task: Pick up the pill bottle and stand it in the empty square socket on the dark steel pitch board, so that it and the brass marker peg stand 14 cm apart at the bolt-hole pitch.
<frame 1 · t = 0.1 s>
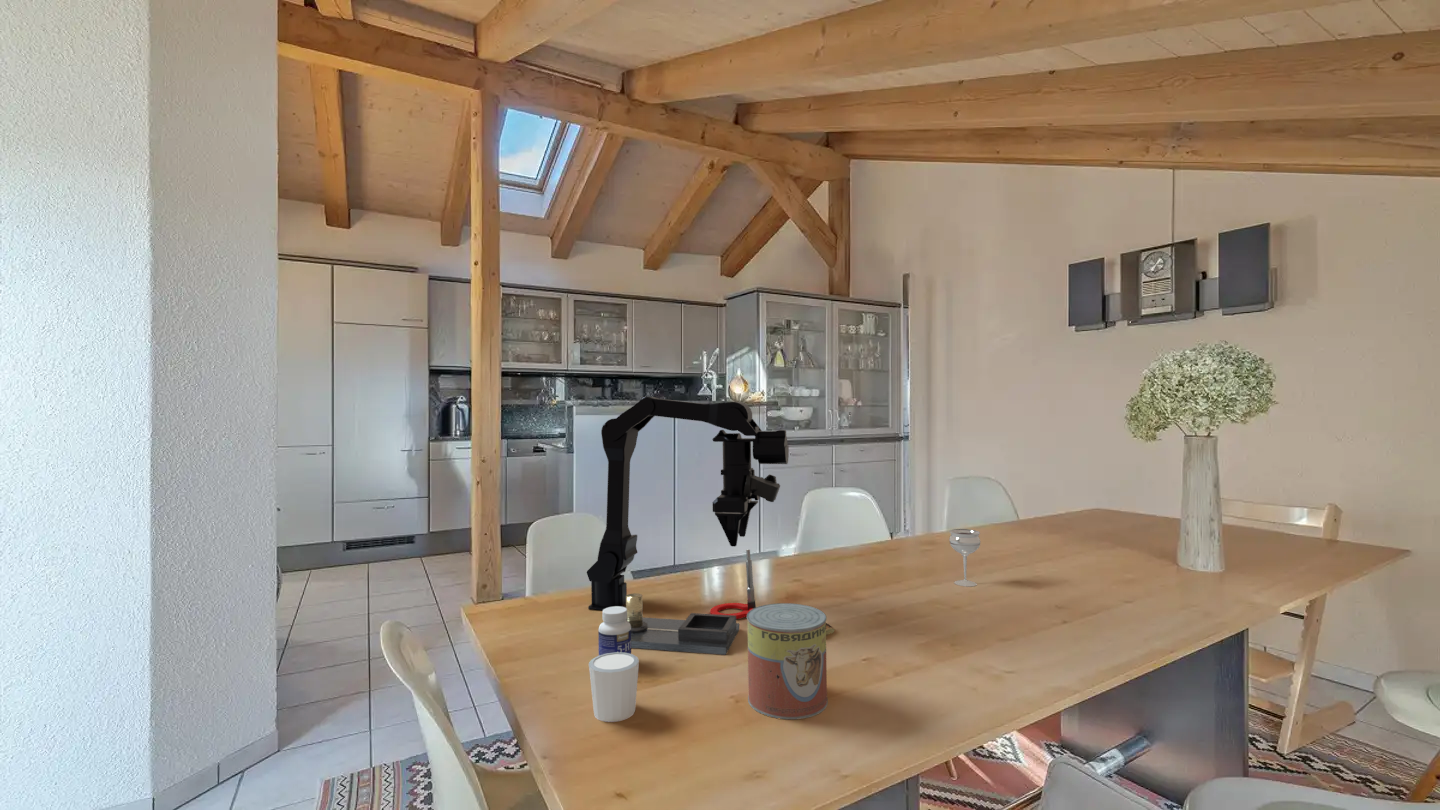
hand: (738, 541, 126), 15 cm above the table, tool pointing down, fingers open, 9 cm apart
tow hook: (733, 614, 126), on the table
pitch board: (670, 637, 114), on the table
shard: (804, 632, 117), on the table
canned food: (787, 701, 89), on the table
shot glass: (614, 713, 86), on the table
wineglass: (965, 584, 145), on the table
pill bottle: (615, 665, 102), on the table
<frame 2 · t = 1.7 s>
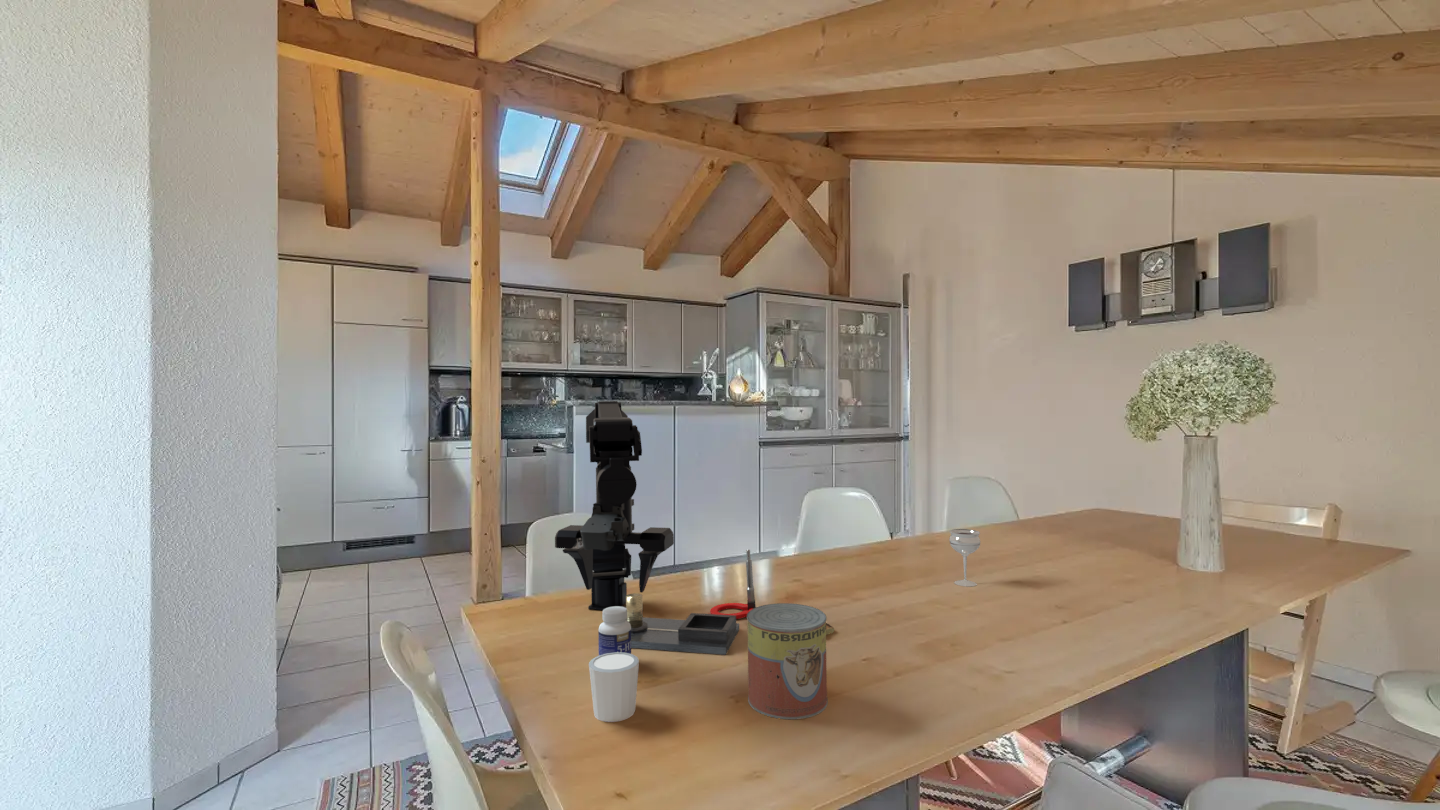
hand: (615, 590, 102), 12 cm above the table, tool pointing down, fingers open, 9 cm apart
nothing on the table moved.
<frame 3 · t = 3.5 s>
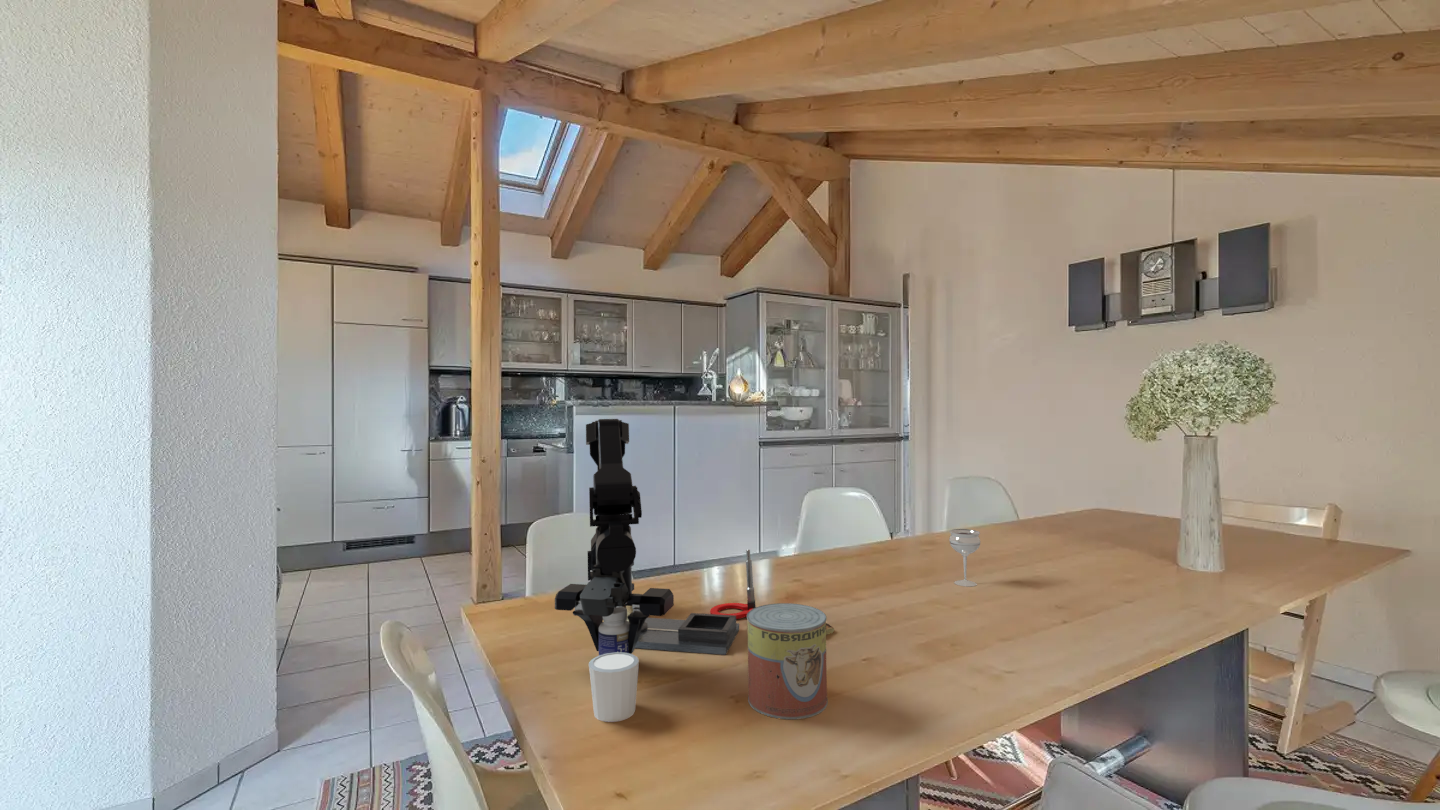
hand: (615, 651, 102), 2 cm above the table, tool pointing down, fingers closed on pill bottle, 5 cm apart
pill bottle: (615, 665, 102), on the table, touching gripper
everything else where it was.
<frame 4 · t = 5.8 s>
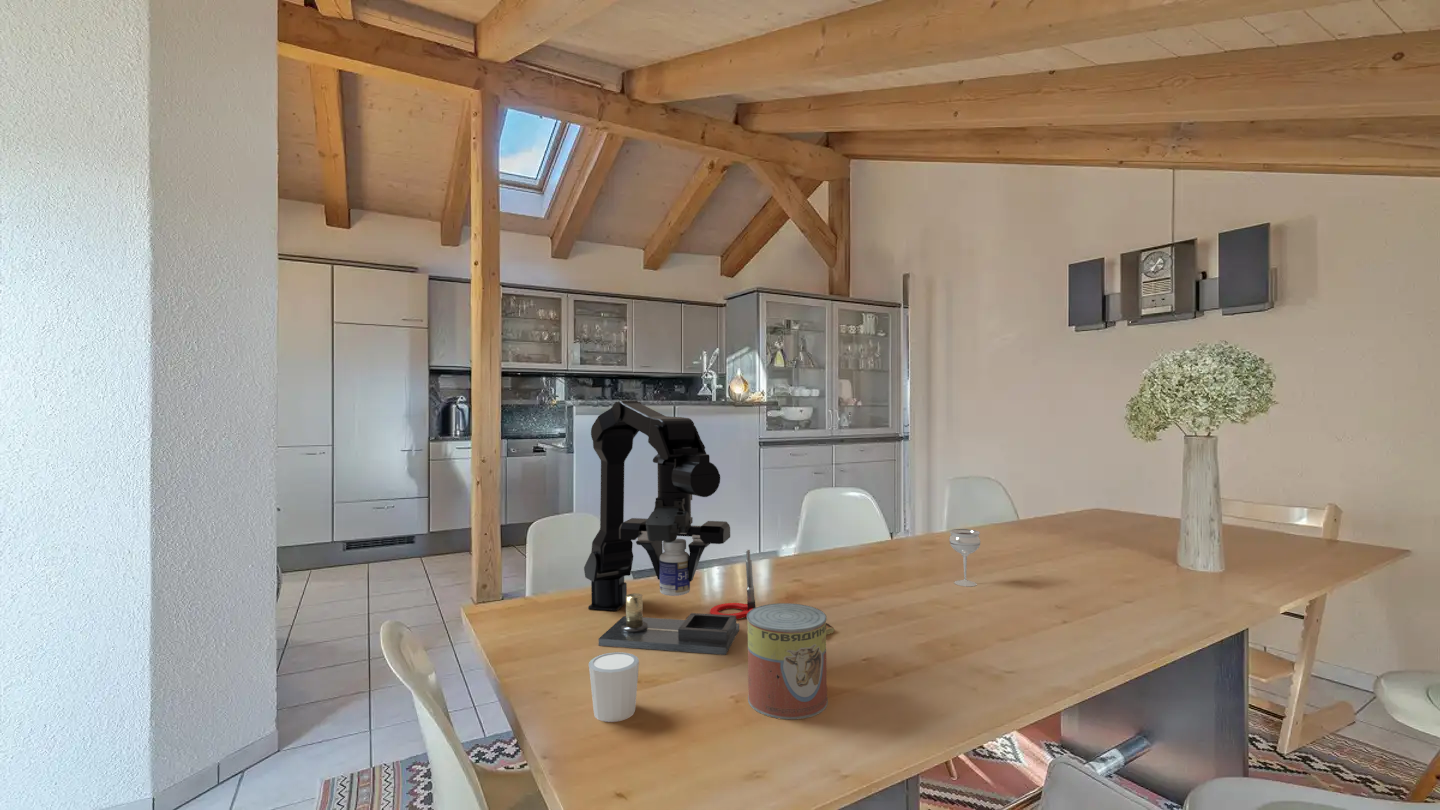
hand: (675, 580, 108), 12 cm above the table, tool pointing down, fingers closed on pill bottle, 5 cm apart
pill bottle: (675, 593, 108), point 10 cm above the table, touching gripper
everything else where it was.
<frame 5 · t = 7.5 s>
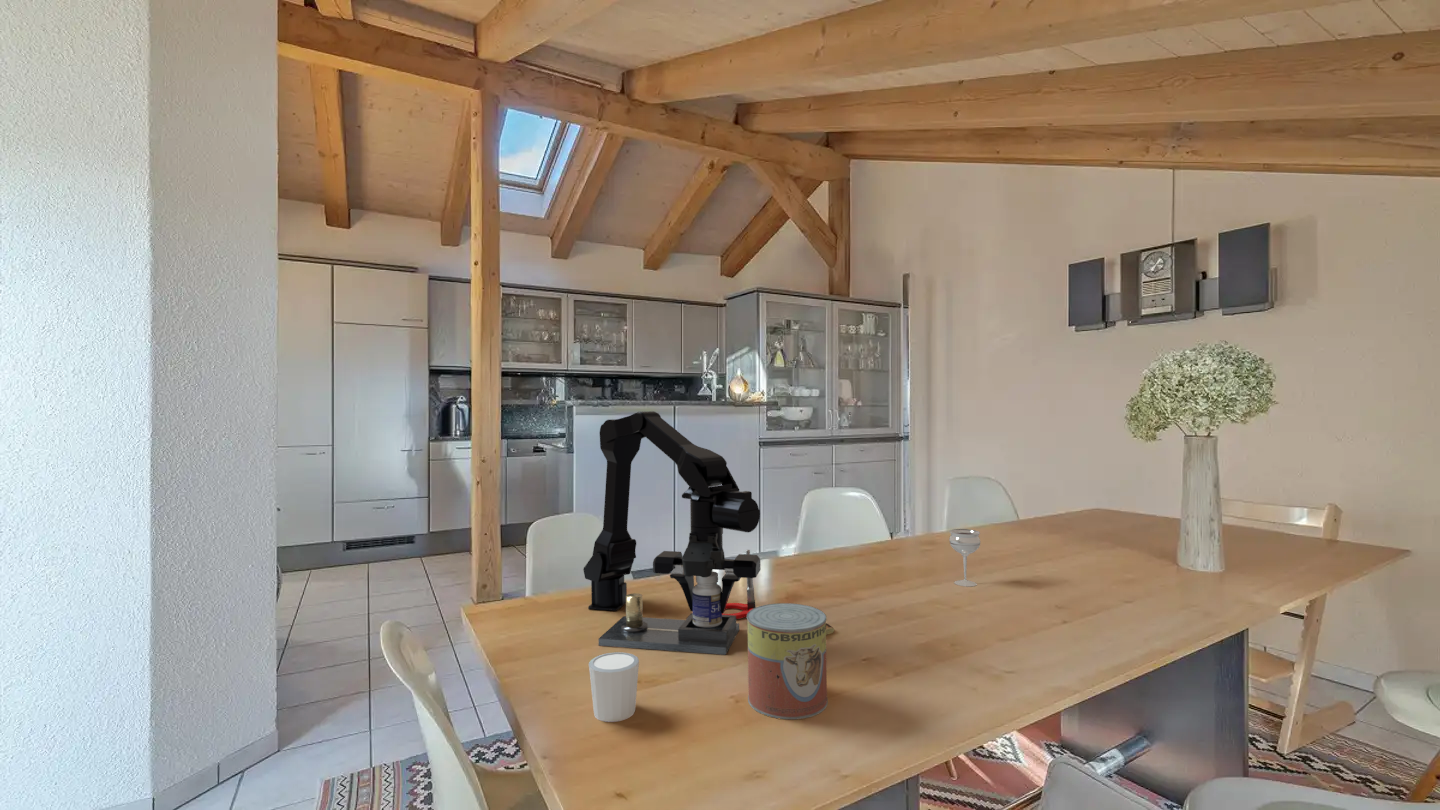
hand: (707, 611, 112), 5 cm above the table, tool pointing down, fingers closed on pill bottle, 5 cm apart
pill bottle: (707, 624, 112), point 3 cm above the table, touching gripper
everything else where it was.
when the fingers open (4 cm above the table, at t = 8.4 s): pill bottle drops 1 cm, resting on pitch board.
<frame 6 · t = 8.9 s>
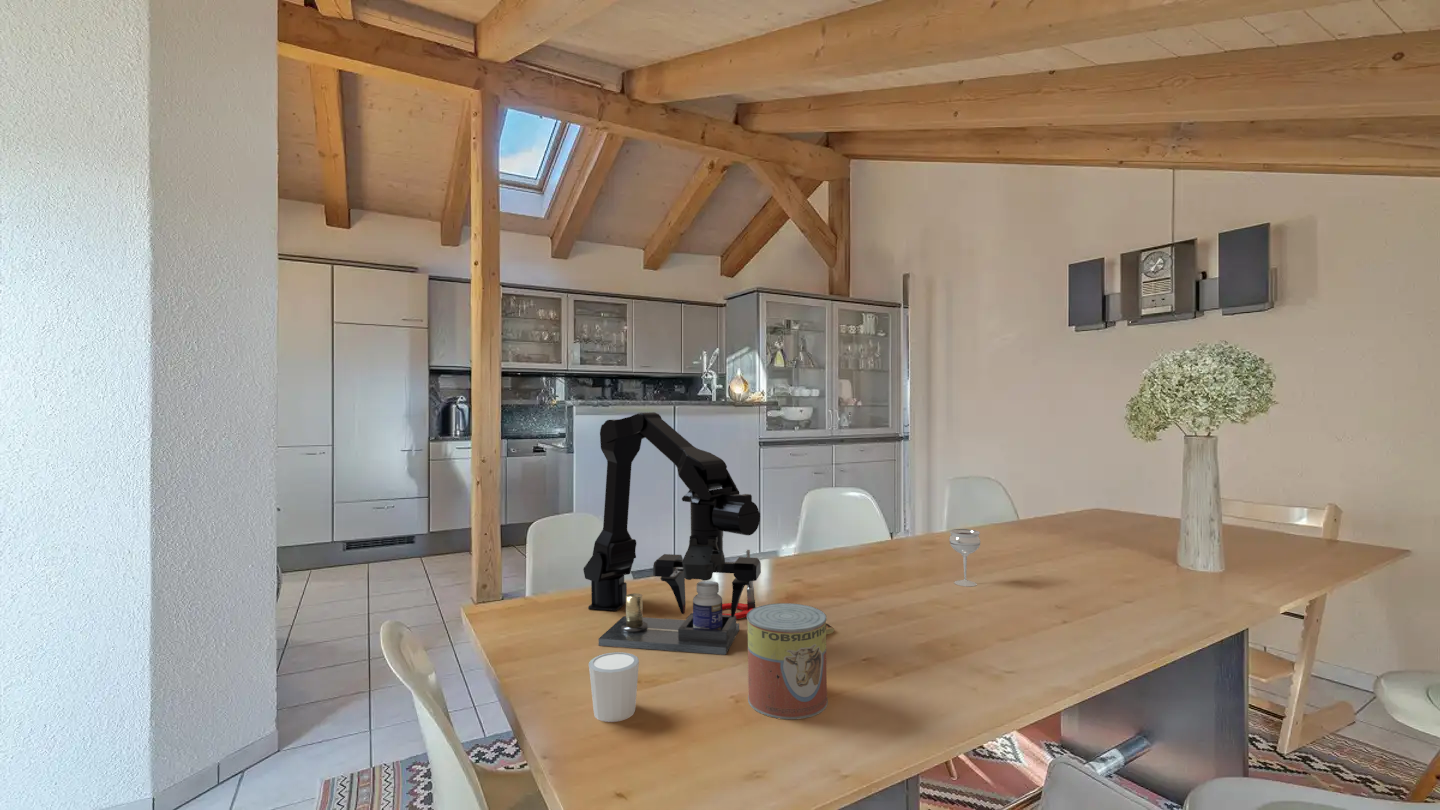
hand: (707, 614, 112), 4 cm above the table, tool pointing down, fingers open, 9 cm apart
pill bottle: (707, 634, 112), point 1 cm above the table, touching pitch board
everything else where it was.
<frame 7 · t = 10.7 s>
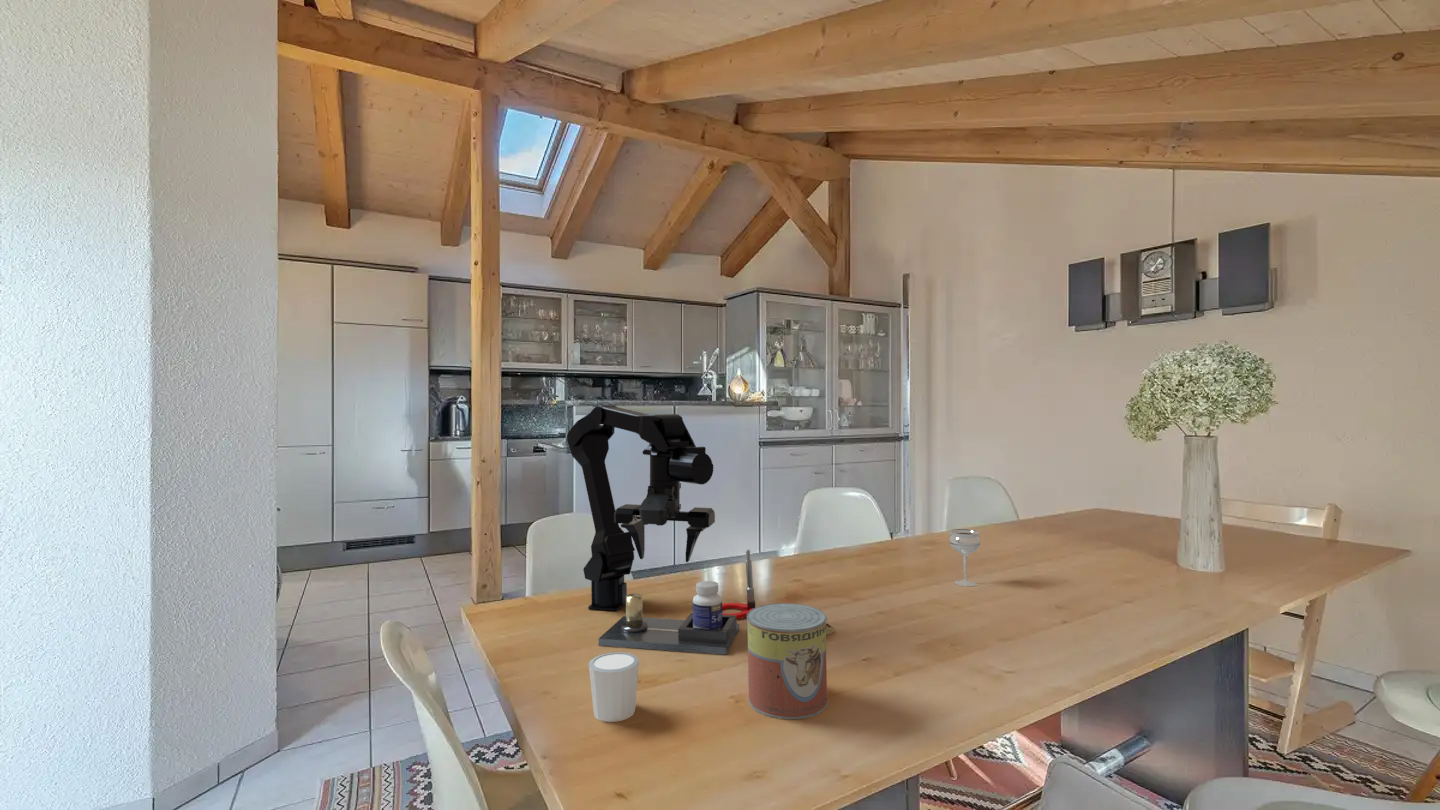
hand: (664, 560, 120), 12 cm above the table, tool pointing down, fingers open, 9 cm apart
nothing on the table moved.
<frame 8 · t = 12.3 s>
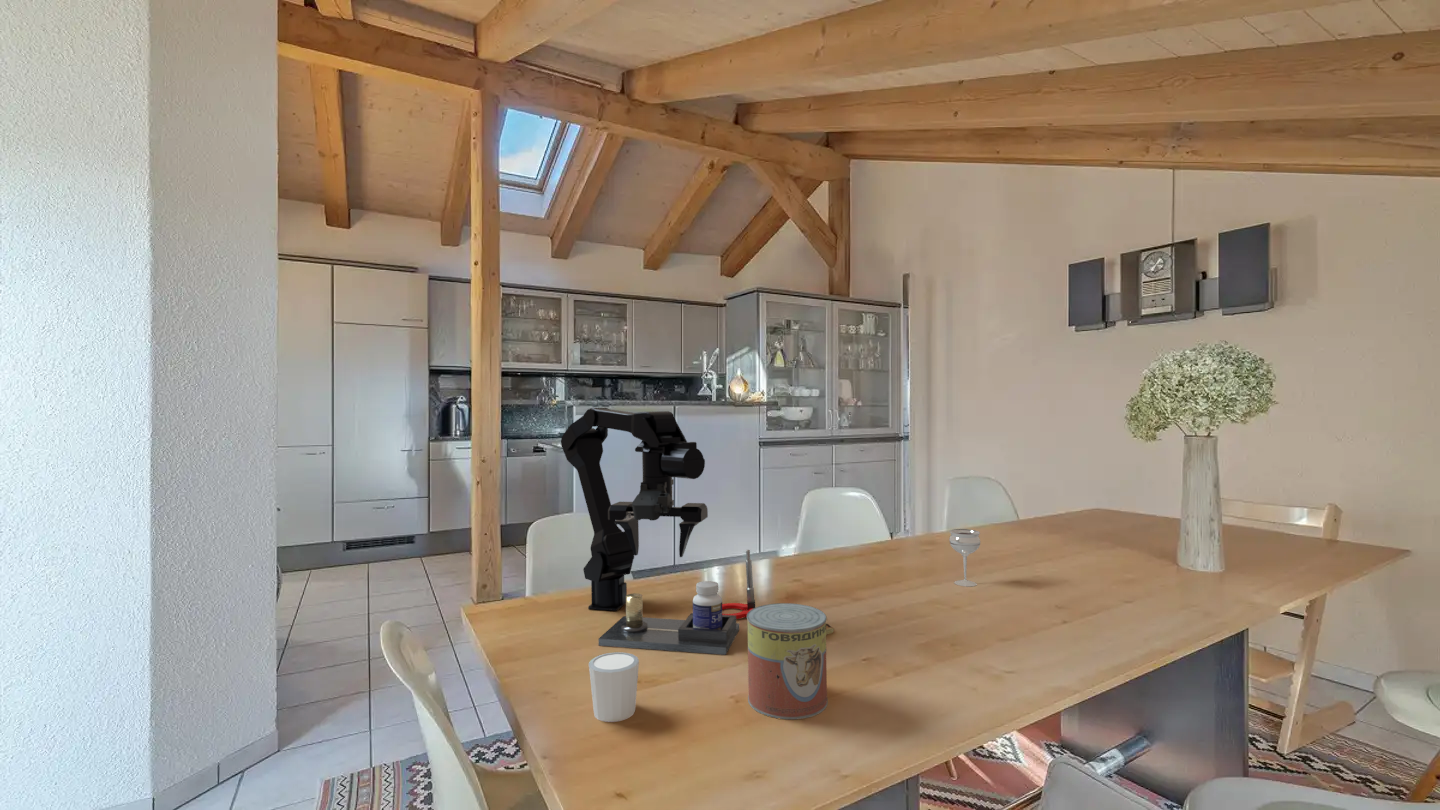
hand: (658, 555, 121), 13 cm above the table, tool pointing down, fingers open, 9 cm apart
nothing on the table moved.
at the end: pill bottle 0.0 cm from the target spot on the pitch board, point 1.0 cm above the pitch board's base; pill bottle tilted 0°; the gripper is holding nothing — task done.
